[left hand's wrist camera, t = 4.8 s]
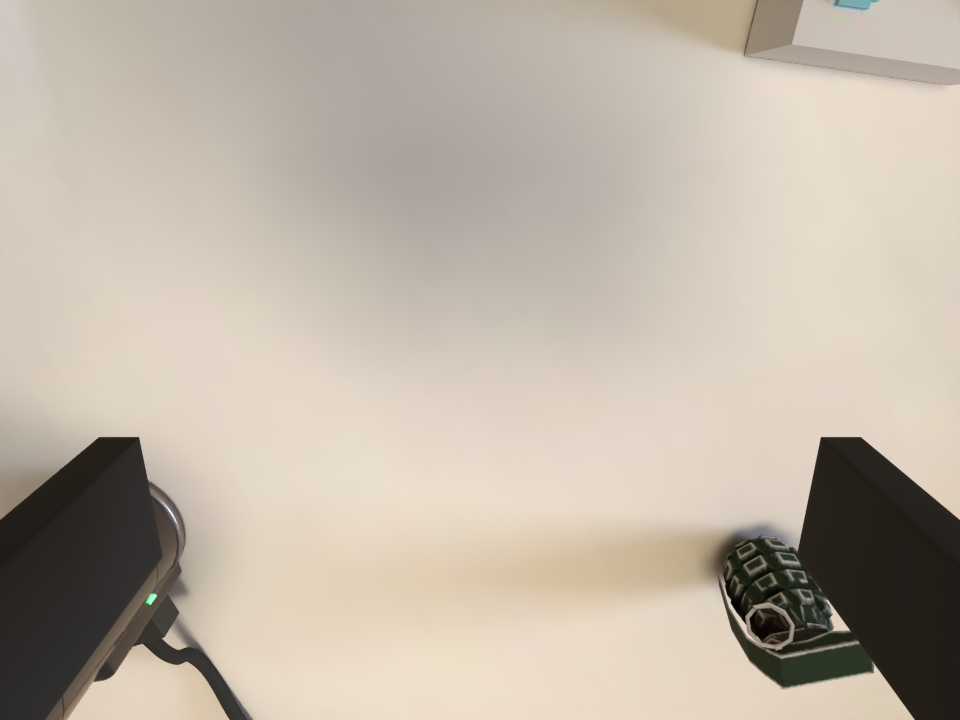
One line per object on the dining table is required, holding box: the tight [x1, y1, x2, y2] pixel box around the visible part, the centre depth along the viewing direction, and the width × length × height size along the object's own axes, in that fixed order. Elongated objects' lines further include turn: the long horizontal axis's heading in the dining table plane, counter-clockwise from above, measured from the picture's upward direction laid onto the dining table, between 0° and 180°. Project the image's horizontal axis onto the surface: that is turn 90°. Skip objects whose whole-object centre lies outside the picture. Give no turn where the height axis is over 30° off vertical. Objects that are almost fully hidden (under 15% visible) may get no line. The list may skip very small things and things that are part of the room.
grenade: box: [717, 536, 875, 690], centre depth 42 cm, size 7×6×10 cm
